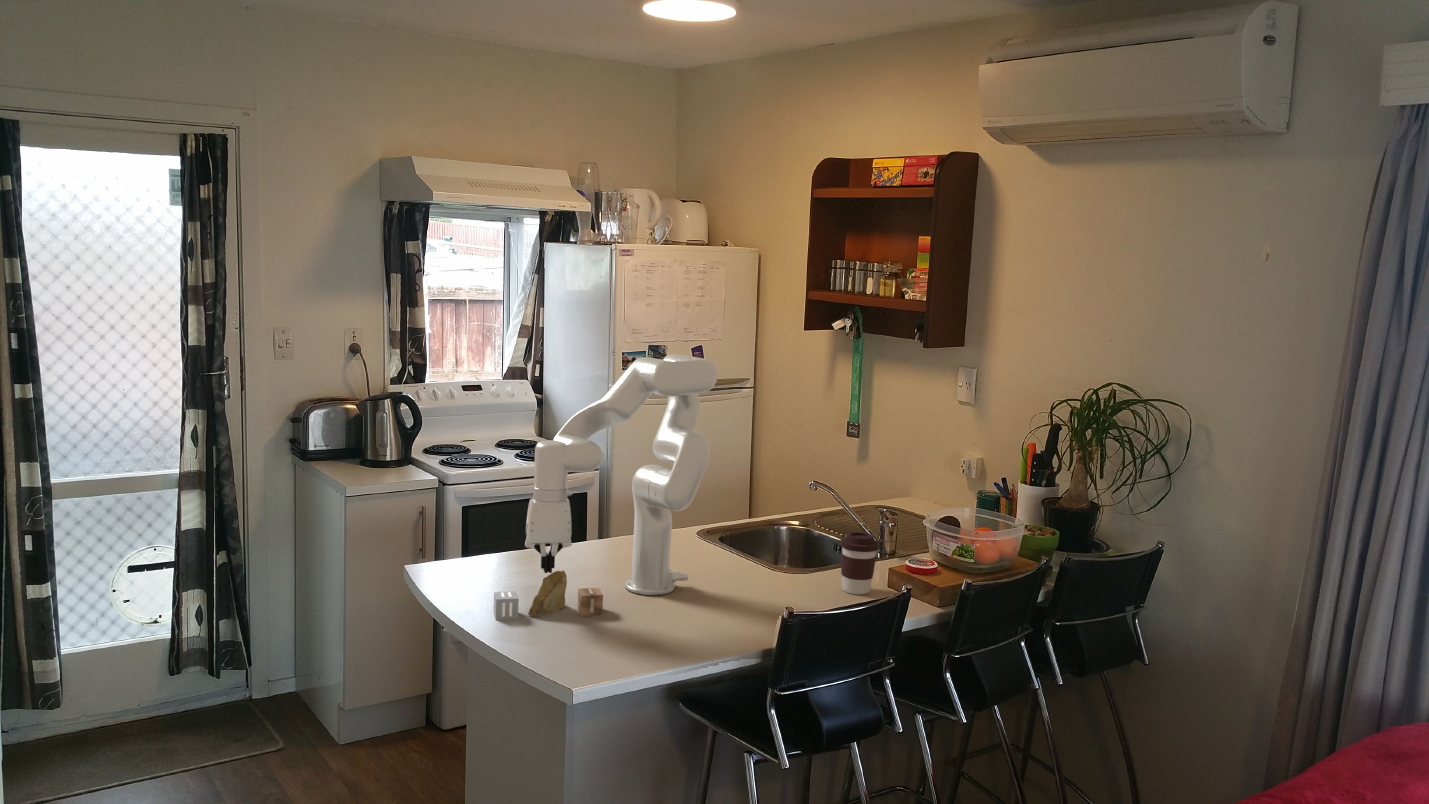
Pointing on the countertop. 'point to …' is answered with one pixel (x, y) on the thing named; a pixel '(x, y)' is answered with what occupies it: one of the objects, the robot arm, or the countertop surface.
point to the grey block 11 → (506, 605)
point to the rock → (550, 595)
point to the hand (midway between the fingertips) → (547, 571)
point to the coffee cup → (858, 562)
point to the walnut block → (590, 601)
